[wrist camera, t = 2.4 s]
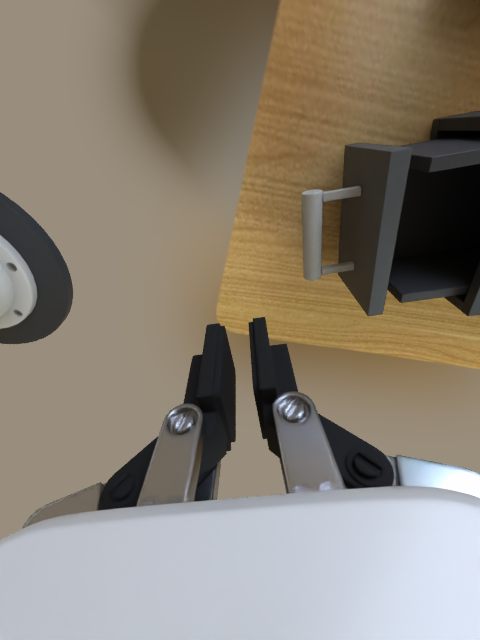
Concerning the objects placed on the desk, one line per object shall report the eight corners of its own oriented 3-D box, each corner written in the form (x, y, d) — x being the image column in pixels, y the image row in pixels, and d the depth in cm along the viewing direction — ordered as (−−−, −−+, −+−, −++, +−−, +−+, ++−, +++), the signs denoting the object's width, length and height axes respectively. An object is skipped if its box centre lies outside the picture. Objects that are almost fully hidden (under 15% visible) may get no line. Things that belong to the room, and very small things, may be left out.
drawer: (296, 280, 28) (314, 323, 22) (291, 155, 22) (314, 165, 15) (474, 254, 27) (548, 292, 21) (525, 112, 20) (657, 103, 14)
